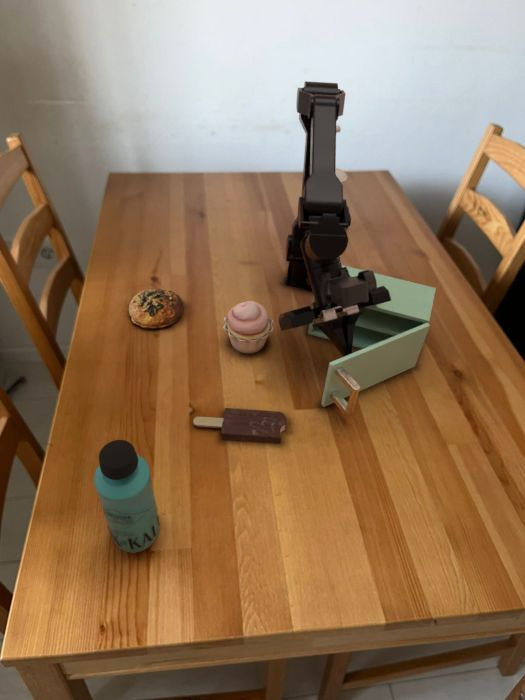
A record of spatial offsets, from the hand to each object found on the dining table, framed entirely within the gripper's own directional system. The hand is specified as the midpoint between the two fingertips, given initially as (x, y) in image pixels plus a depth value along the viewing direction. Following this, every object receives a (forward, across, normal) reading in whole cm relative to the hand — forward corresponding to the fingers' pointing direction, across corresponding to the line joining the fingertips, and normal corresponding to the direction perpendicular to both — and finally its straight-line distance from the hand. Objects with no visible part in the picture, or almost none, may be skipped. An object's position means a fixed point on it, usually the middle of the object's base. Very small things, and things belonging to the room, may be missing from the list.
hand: (348, 358), depth 85 cm
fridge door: (+8, +5, +2) cm, 10 cm away
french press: (-28, +22, +38) cm, 52 cm away
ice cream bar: (+6, -20, +4) cm, 21 cm away
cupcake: (-6, -11, +17) cm, 21 cm away
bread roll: (-17, -24, +27) cm, 40 cm away
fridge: (-2, +12, +12) cm, 17 cm away
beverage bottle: (+14, -40, -4) cm, 43 cm away
